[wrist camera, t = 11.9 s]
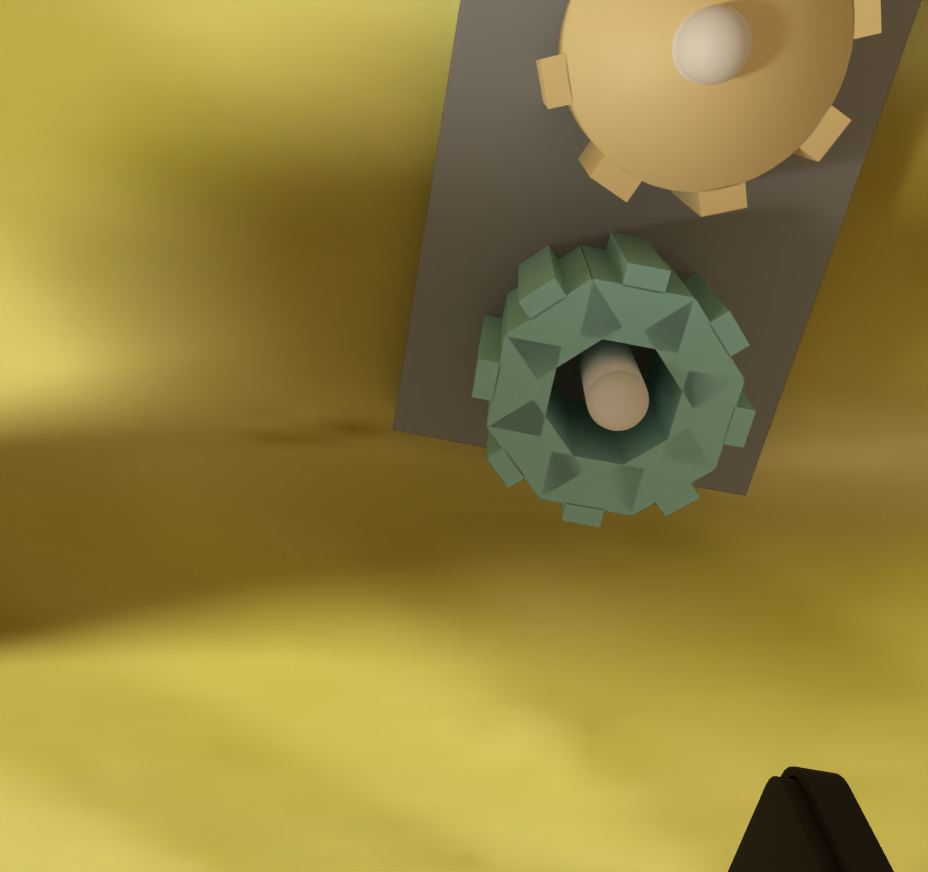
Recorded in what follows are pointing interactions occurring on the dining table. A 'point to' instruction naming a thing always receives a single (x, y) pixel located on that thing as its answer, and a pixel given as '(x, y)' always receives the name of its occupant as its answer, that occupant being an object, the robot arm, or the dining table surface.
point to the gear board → (573, 209)
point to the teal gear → (568, 422)
